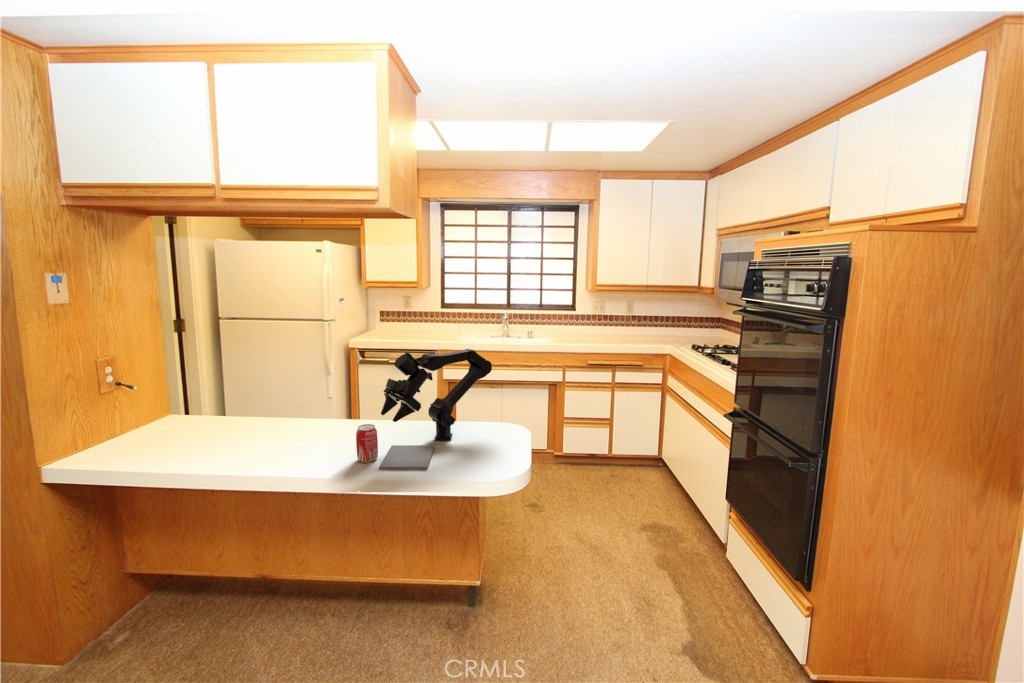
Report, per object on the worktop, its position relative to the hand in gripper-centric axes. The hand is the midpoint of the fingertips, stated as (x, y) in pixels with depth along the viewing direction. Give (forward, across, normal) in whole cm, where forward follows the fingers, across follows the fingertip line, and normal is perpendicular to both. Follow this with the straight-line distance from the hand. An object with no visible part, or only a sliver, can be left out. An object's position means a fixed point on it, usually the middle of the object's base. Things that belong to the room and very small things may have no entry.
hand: (387, 418), depth 161 cm
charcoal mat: (+7, +8, +12) cm, 16 cm away
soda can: (+15, 0, +4) cm, 16 cm away
